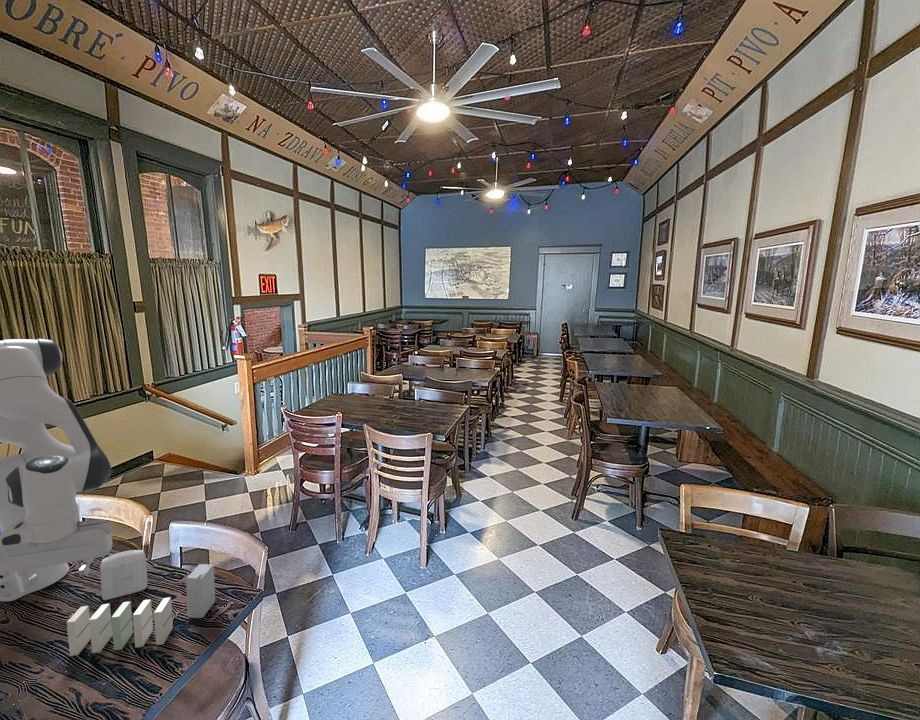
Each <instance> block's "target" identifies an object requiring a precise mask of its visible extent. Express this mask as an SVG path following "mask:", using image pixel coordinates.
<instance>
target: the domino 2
mask: <svg viewBox="0 0 920 720" xmlns="http://www.w3.org/2000/svg"><path fill="white" fill-rule="evenodd" d="M111 614H112V612H111V603H103V604H101V605H100V607H98V609H97V610H96V611H95V612H94V613H93V614H92V615H91V616H90V619H89V624H90V634H91V639H90V641H91V642H90V643H91V644H90V645H91V652H92V653H91V654H96V653H97V654H98V653H101V651H103V650H104V647H105V646H106V645H107V643H109V641H110V639H111V638H113V631H112V619H111V617H112V615H111Z"/></svg>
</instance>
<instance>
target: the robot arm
mask: <svg viewBox="0 0 920 720" xmlns="http://www.w3.org/2000/svg"><path fill="white" fill-rule="evenodd" d="M62 362H63V352H62V351H61V348H60V347H59V346H58V343H56V342H55V341H54V340H52V339H47V338H35V339H29V338H28V339H24V338H10V339H9V338H8V339H2V340H0V443H2V444H8V445H9V444H10V445H16V446H19V447H20V448H21V450H22V452H21V453H18V454H14V455H9V456H4V457H0V602H12V601H15V600H18V599H20V598H22V597H23V596H26V595H28V594H31V593H34V592H36V591H39V590H42V589H45V588H47V587H49V586H50V585H53V584H55V583H56V582H58V581H60V580H61V579H62V578H64V577H65V576H66V575H67V574H68V572H69V571H70V566H69V564H68V563H73V562H78V561H79V562H80V561H83V564H84V565H83V564H82V565H81V566H80V568H79V570H78V576H79V577H81V576H87V575H88V574H89V573H90V571H91V570H90V568H91V567H90V565H91V563H92V562H93V561H94V559H97V558H101V557H102V558H103V557H106V556H107V555H108V554H109V553H110V551H111V550H112V548H113V543H114V542H113V538H112V534H111V532H112V524H111V522H110V521H109V520H105V519H104V518H97V519H96V518H95V519H90V520H81V521H80V519H81V518H80V511H79V510H80V509H79V503H77V501H76V500H77V499H76V497H77V493H80V492H81V493H82V492H87V491H91V490H92V491H93V490H96V489H99V488H101V486H103V485H104V484H105V483H106V482H107V481H108V479H110V477H111V475H112V465H111V462H110V459H108V457H107V455H106V454H105V452H104V451H103V450H102V448H101V447H100V446H99V444H98V442H97V441H96V439H95V438H94V437H95V436H94V435H93V434H92V432H91V430H90V428H89V426H88V425H87V424H86V421H85V420H84V418H83V416H82V414H81V413H80V411H79V410H78V408H77V406H76V405H75V404H74V403H73V401H71V400H70V399H69V398H67V397H63V396H61V395H60V394H58V393H56V392H55V391H54V390H53V389H52V387H51V386H50V385H49V381H48V379H47V377H48V376H51V375H53V374H55V373H56V372H57V371H58V370H60V368H61V365H62ZM45 424H47V425H52V426H55V427H57V428H60V429H61V430H62V431H63V432H64V434H65V435H66V438H67V440H68V441H69V442H70V444H71V445H69V444H66V443H64V442H61V441H60V440H58V439H57V438H55V437H54V436H53V435H52V434H51V433H50V432H49V430H48V429H47V427H46V425H45Z"/></svg>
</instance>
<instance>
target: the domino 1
mask: <svg viewBox="0 0 920 720" xmlns="http://www.w3.org/2000/svg"><path fill="white" fill-rule="evenodd" d="M90 618H91V616H90V606H89V605H83V606H82V605H81V606H80V607H79V608H78V609H77V610H76V612H74V614H72V616H71V617H70V618H69V619H68V620H67V621H66V628H67V630H66V631H67V640H68V649H69V656H70V657H71V656H78V655H80V653H81V652H82V651H83V650H84V648H85V647H86V646H87V645H88V643H89V642H90V641H91V634H90V624H89V619H90Z"/></svg>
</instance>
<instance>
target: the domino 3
mask: <svg viewBox="0 0 920 720" xmlns="http://www.w3.org/2000/svg"><path fill="white" fill-rule="evenodd" d="M152 610H153V609H152V599H144V600H142V602H141V603H140V604H139V605H138V607H137V609H136V610H135V611H134V613H133V614H132V625H133V634H134V637H133V638H134V645H135V646H134V648H136V649H137V648H143V647H144V646H145V644H146V642H147V641H148V639H149V638H150V636H151V635H152V633H153V631H154V624H153V611H152Z"/></svg>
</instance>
